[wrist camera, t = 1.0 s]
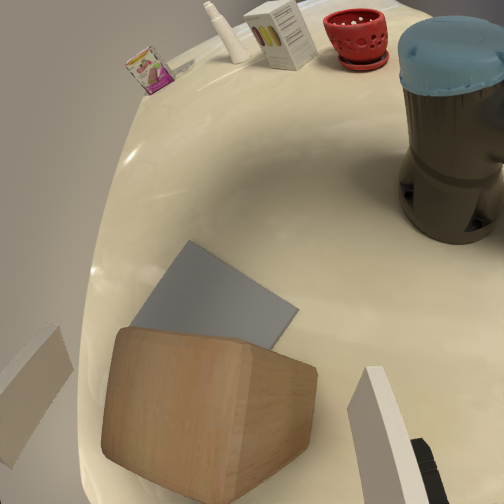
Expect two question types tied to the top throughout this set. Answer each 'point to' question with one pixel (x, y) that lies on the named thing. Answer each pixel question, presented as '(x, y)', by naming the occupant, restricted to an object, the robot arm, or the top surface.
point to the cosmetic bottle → (227, 35)
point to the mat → (214, 302)
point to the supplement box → (282, 34)
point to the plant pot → (358, 38)
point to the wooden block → (204, 411)
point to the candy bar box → (150, 70)
